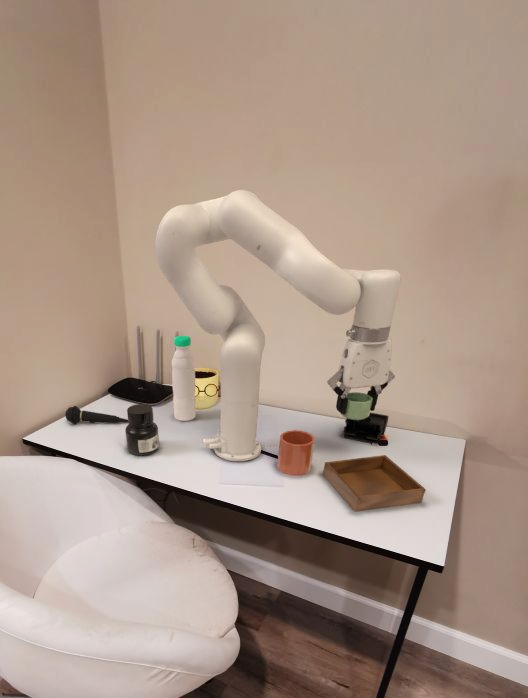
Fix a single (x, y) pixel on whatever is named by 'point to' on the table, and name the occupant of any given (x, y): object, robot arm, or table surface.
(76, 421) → the microphone
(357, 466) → the tray
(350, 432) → the black angular box
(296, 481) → the table surface
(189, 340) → the water bottle
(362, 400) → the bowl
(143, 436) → the ink bottle
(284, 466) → the cup
